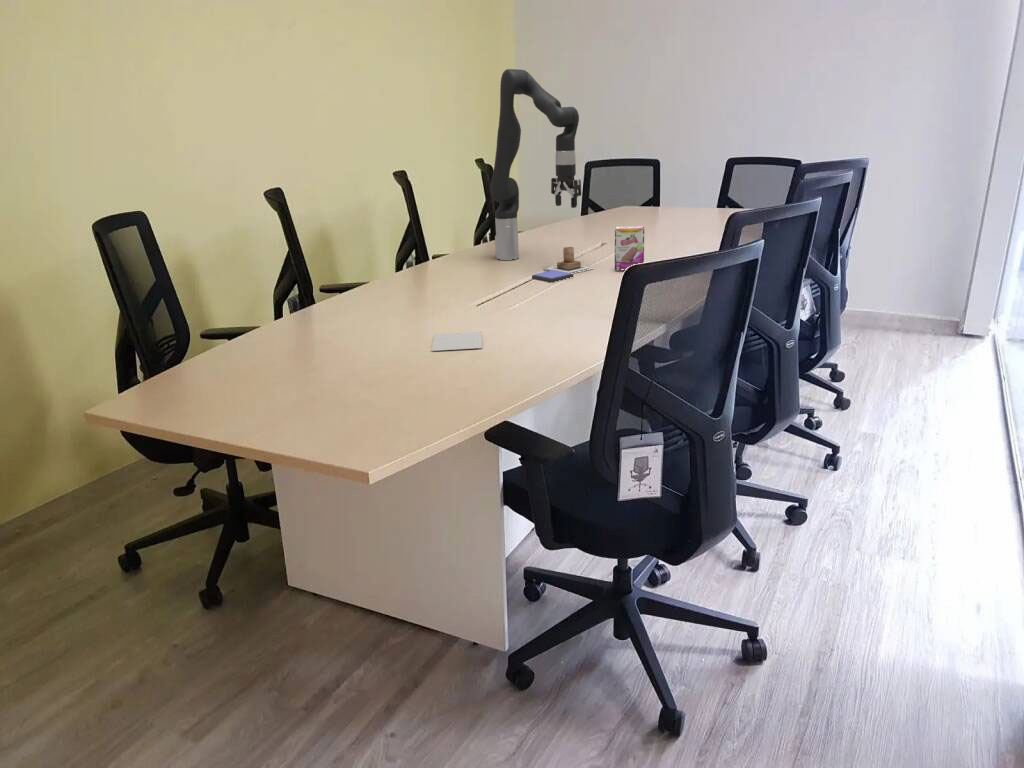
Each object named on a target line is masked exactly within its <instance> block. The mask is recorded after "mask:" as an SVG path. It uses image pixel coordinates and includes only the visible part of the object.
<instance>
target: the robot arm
mask: <svg viewBox="0 0 1024 768" xmlns="http://www.w3.org/2000/svg"><path fill="white" fill-rule="evenodd" d="M501 74H502V75H501V78H500V85H499V86H500V90H499V93H500V94H499V95H500V96H499V97H500V98H499V100H500V101H499V102H500V103H499V117H498V118H499V120H498V129H497V136H496V149H495V159H494V166H493V170H492V177H491V181H490V182H491V183H490V189H489V190H490V191H489V192H490V195H491V199H492V200H493V201H495V202H497V203H499V204H498V205H499V206H498V207H497V209H496V210H495V212H494V217H495V218H494V220H495V222H494V223H495V236H494V246H495V247H494V248H495V259H497V260H498V259H500V260H499V261H513V260H512V259H515V260H518V259H519V258H520V253H519V252H520V250H519V248H520V247H519V226H518V225H519V224H518V212H519V208H520V189H519V188H520V187H519V186H518V183H517V180H516V179H514V178H513V177H510V174H511V168H512V165H513V162H514V160H515V158H516V156H517V154H518V153H519V152H518V151H519V149H520V144H521V134H522V129H521V125H520V122H519V120H518V119H519V118H518V117H517V115H516V113H515V107H514V105H515V102H514V101H515V95H525V96H528V97H530V98H531V99H532V102H533V104H534V106H535V108H536V109H537V110H538V111H540V113H542V114H544V115H545V116H546V117H547V119H548V120H549V123H550V124H551V125H552V126H554V127H556V128H563V132H562V133H560V134H557V135H556V137H555V176H556V177H552V178H551V179H550V180H551V181H550V182H551V183H550V186H551V187H550V190H551V191H550V192H551V194H552V195H554V196H555V197H554V199H555V206H557V207H560V206H562V193H563V192H564V191H565V192H566V191H567V193H568V194H569V196H570V197H571V198H570V208H571V209H574V208H577V206H578V197H580V196H582V182H581V179H575V176H576V175H577V171H576V169H577V166H576V165H577V164H576V163H577V162H576V161H577V159H576V157H577V156H576V146H575V145H576V144H575V143H576V141H575V140H576V135H577V131H578V126H579V122H580V115H579V111H578V109H577V108H576V107H574V106H563V107H562V104H561V101H559V99H557V97H554V95H552V94H551V93H549V92H548V91H547V90H546V89H544V88H543V87H542V86H541V84H539V83H538V81H536V79H535V78H534V77H533V76H532V75H531V74H530V73H529V72H528V71H527V70H525V69H517V68H516V69H514V68H513V69H512V68H507V69H505V70H504V71H503V72H502V73H501ZM517 258H518V259H517Z"/></svg>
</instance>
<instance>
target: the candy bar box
mask: <svg viewBox="0 0 1024 768" xmlns="http://www.w3.org/2000/svg"><path fill="white" fill-rule="evenodd" d="M644 260H645V226H642V225H641V226H615V227H614V271H615V270H621V269H624V270H625V269H626V268H627V267H629V266H631V265H633V264H638V263H643V262H644V263H645V261H644ZM624 270H623V271H622V272H625V271H624Z"/></svg>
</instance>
